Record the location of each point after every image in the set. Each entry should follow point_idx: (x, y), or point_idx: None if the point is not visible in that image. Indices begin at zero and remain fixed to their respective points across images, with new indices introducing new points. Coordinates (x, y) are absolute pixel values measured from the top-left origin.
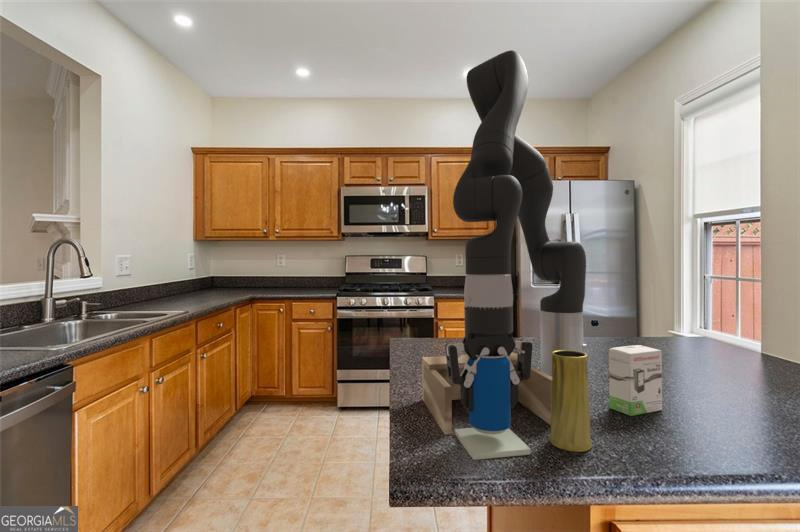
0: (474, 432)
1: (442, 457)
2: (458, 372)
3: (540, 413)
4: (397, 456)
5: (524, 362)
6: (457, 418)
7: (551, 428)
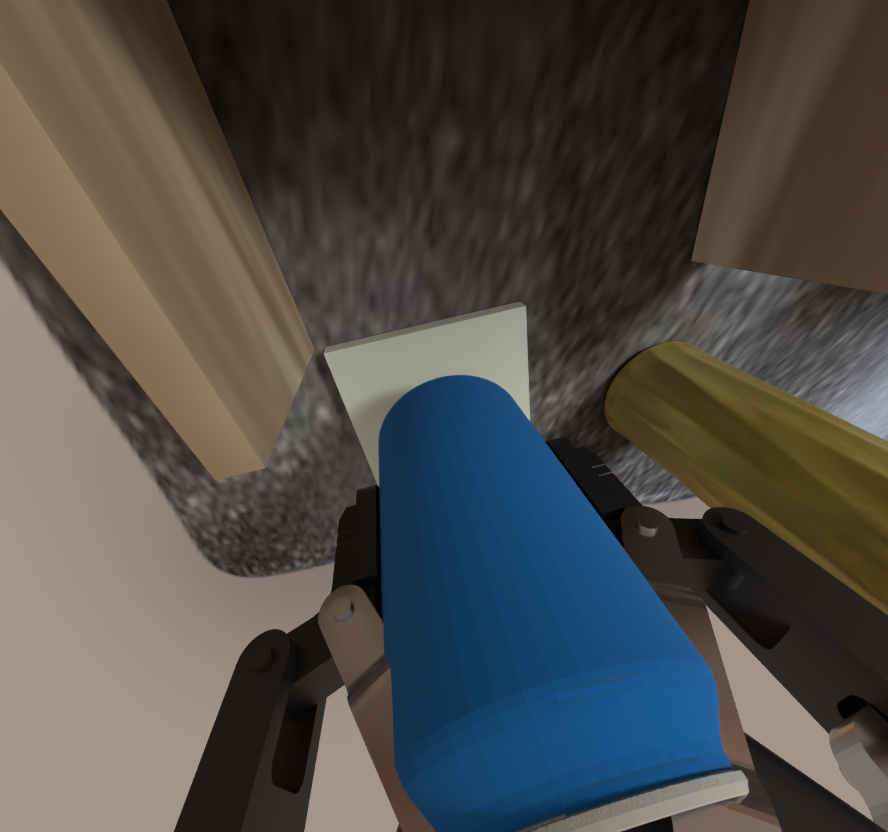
0: (398, 376)
1: (301, 485)
2: (311, 755)
3: (729, 164)
4: (166, 496)
5: (773, 670)
6: (328, 156)
7: (633, 414)
